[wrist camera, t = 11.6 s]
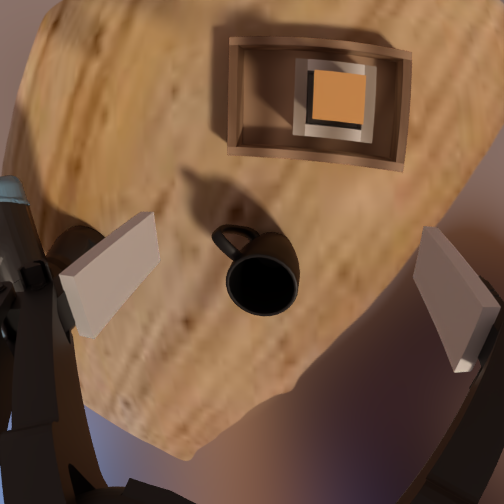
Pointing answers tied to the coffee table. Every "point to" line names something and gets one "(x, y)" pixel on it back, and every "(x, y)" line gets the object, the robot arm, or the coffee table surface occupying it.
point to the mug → (260, 270)
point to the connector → (339, 96)
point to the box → (301, 101)
